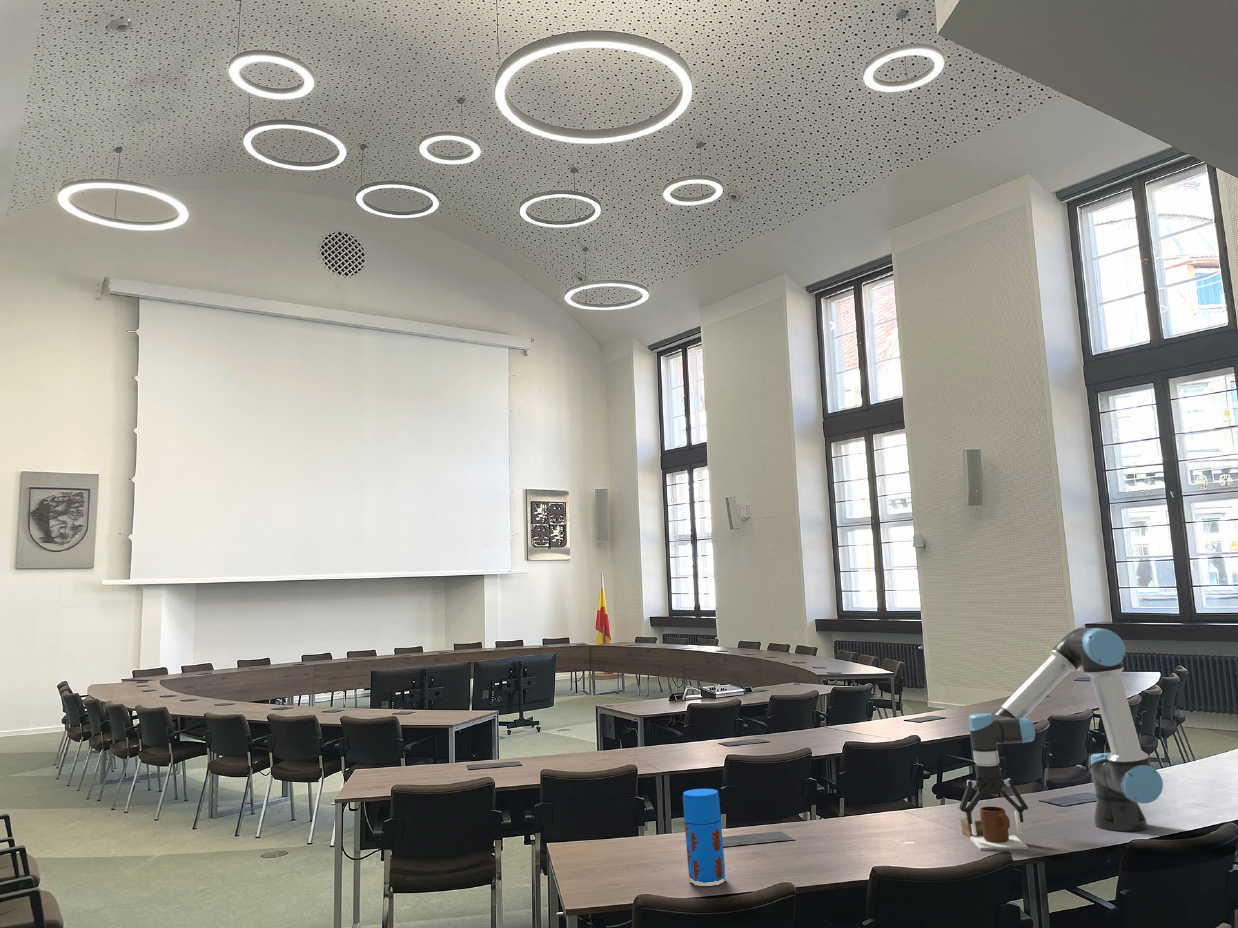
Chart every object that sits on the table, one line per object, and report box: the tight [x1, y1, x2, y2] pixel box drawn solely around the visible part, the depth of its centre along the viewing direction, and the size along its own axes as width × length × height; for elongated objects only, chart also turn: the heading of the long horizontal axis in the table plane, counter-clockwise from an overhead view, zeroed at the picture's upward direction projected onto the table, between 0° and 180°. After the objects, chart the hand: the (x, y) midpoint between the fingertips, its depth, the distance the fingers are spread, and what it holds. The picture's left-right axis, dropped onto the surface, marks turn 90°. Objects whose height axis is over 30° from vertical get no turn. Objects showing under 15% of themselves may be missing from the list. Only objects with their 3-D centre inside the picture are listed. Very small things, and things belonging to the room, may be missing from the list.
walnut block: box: [960, 816, 983, 839], centre depth 277 cm, size 5×5×5 cm
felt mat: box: [969, 834, 1029, 851], centre depth 266 cm, size 14×14×1 cm
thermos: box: [682, 788, 726, 883], centre depth 250 cm, size 11×11×25 cm
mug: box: [979, 806, 1011, 843], centre depth 267 cm, size 12×8×9 cm, turn 8°
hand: (997, 833), depth 266 cm, fingers open, 13 cm apart
